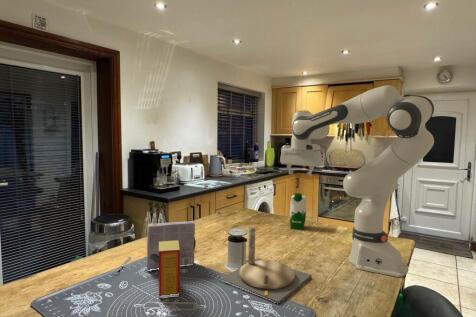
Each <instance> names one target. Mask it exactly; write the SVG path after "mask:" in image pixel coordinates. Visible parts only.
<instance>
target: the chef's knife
mask: <svg viewBox="0 0 476 317" xmlns="http://www.w3.org/2000/svg"><path fill="white" fill-rule="evenodd" d="M131 259H132V257H131V256H128V257H127V259H126V260H125V261H124V262H123V263H122V264H121V266H120V267H122V265H124V264H127V263H128V262H129V261H130V260H131ZM131 261H132V260H131Z"/></svg>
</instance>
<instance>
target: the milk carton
mask: <svg viewBox="0 0 476 317" xmlns="http://www.w3.org/2000/svg"><path fill="white" fill-rule="evenodd" d="M289 203H290V204H289V224H290V229H292V230H302V231H304V228H305V224H306V215H307V198H306V195H303V193H300V192H295V193H294V195H293V194H292V195H291V197H290V202H289Z"/></svg>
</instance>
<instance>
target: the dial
mask: <svg viewBox="0 0 476 317" xmlns="http://www.w3.org/2000/svg"><path fill="white" fill-rule="evenodd" d="M255 258H256V227H253V226H252V227H249V228H248V259H247V260H248V262H246V263H245V264H243V265H242V266H241V267H240V278H241V280H242V281H243V282H245V283H246V284H248V285H250V286H253V287H257V288H262V289H278V288H283V287H286V286H288V285H290V284H292V283H293V281H294V276H295V273H294V271H293V269H294V268H292V267H291V266H290V265H287V264H285V263H283V262H280V261H275V260H268V259H267V260H266V259H262V260H259V261H255V260H256V259H255Z"/></svg>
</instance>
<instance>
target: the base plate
mask: <svg viewBox="0 0 476 317" xmlns="http://www.w3.org/2000/svg"><path fill="white" fill-rule="evenodd" d="M259 260H263V259H262V258H259V257H258V258H256V259H255V261H259ZM240 268H241V267H240ZM240 268H238V269H236V270H234V271H232V272H229V273H228V274H227V275H224V276H223V277H221V278H220V280H221V279H222V280H224V281H227V282H229V283H231V284H234V285H237V286H239V287H242V288H244V289H247V290H249V291H251V292H253V293H256V294H258V295H260V296H263V297H265V298H267V299H270V300H272V301H274V302H276V303H279V302H281V301H282V300H283V299H285V298H286V299H288V297H290V296H291V295H292V294H293V293H295V291H297V290H298V289H299V288H301V286H303V285H304V284H306V282H308V281H309V280H310V279H311V278H312V274H309V273H306V272H303V271H300V270H297V269H295V268H292V269H293V271H294V273H295V276H294V281H293V283H292V284H290V285H288V286H286V287H283V288H278V289H262V288H257V287H253V286H250V285H248V284H246V283H245V282H243V281H242V280H241V278H240ZM286 299H285V300H286ZM283 301H284V300H283ZM283 301H282V302H283ZM282 302H281V303H282Z"/></svg>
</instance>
